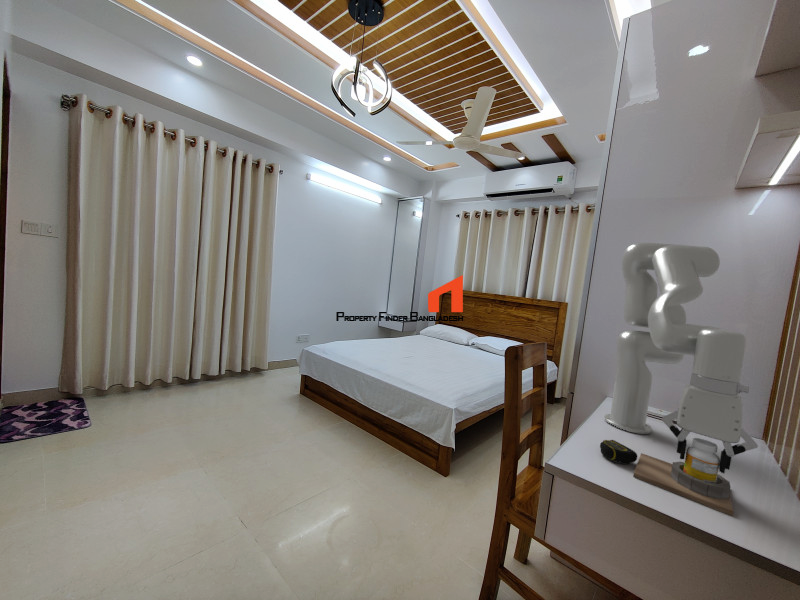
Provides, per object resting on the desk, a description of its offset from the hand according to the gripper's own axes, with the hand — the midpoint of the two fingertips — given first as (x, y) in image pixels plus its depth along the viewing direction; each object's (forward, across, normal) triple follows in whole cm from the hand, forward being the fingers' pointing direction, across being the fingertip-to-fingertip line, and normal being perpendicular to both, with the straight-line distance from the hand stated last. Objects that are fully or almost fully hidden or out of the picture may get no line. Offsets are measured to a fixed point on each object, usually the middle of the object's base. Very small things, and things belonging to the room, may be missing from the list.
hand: (701, 463), depth 71 cm
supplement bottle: (+5, 0, 0) cm, 5 cm away
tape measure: (+6, +15, 0) cm, 17 cm away
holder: (+6, +3, 0) cm, 7 cm away
